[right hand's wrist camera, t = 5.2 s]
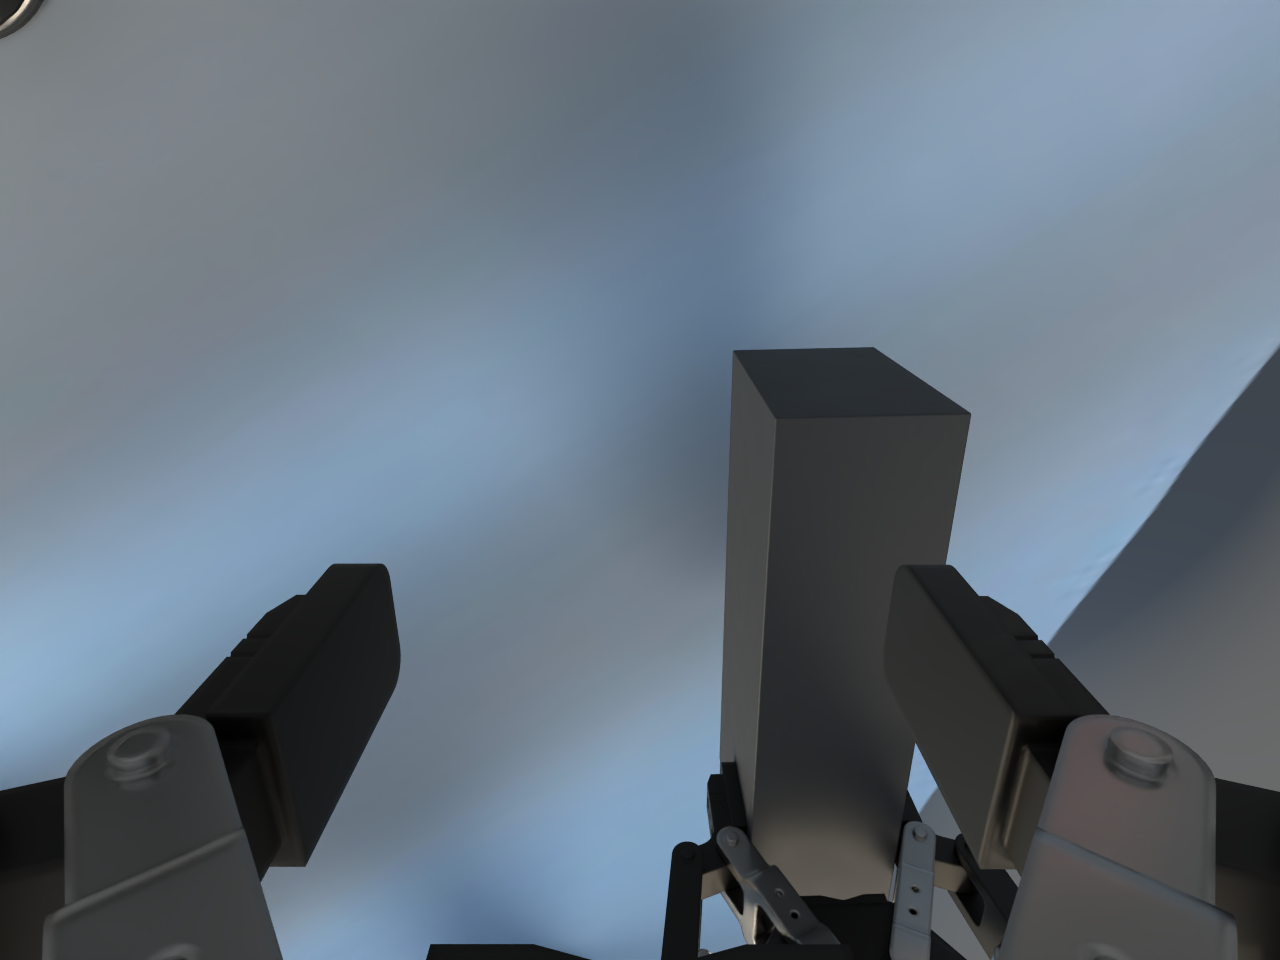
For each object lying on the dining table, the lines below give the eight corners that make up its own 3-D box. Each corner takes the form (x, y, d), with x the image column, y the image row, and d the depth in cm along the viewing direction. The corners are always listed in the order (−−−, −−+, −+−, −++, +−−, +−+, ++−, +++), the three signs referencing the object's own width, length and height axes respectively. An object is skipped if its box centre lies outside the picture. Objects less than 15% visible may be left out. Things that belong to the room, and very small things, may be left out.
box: (732, 350, 29) (775, 417, 21) (874, 346, 30) (972, 412, 21) (719, 757, 38) (745, 920, 30) (829, 754, 38) (886, 916, 30)
